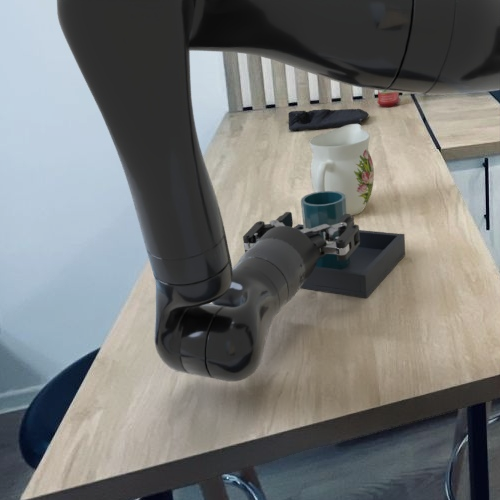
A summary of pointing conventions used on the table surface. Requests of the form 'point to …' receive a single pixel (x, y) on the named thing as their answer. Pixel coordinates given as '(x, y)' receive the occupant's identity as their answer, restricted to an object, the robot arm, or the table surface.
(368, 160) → the pitcher
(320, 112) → the folded dark cloth
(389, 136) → the table surface
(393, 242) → the tray
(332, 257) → the tumbler
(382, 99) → the liquor
